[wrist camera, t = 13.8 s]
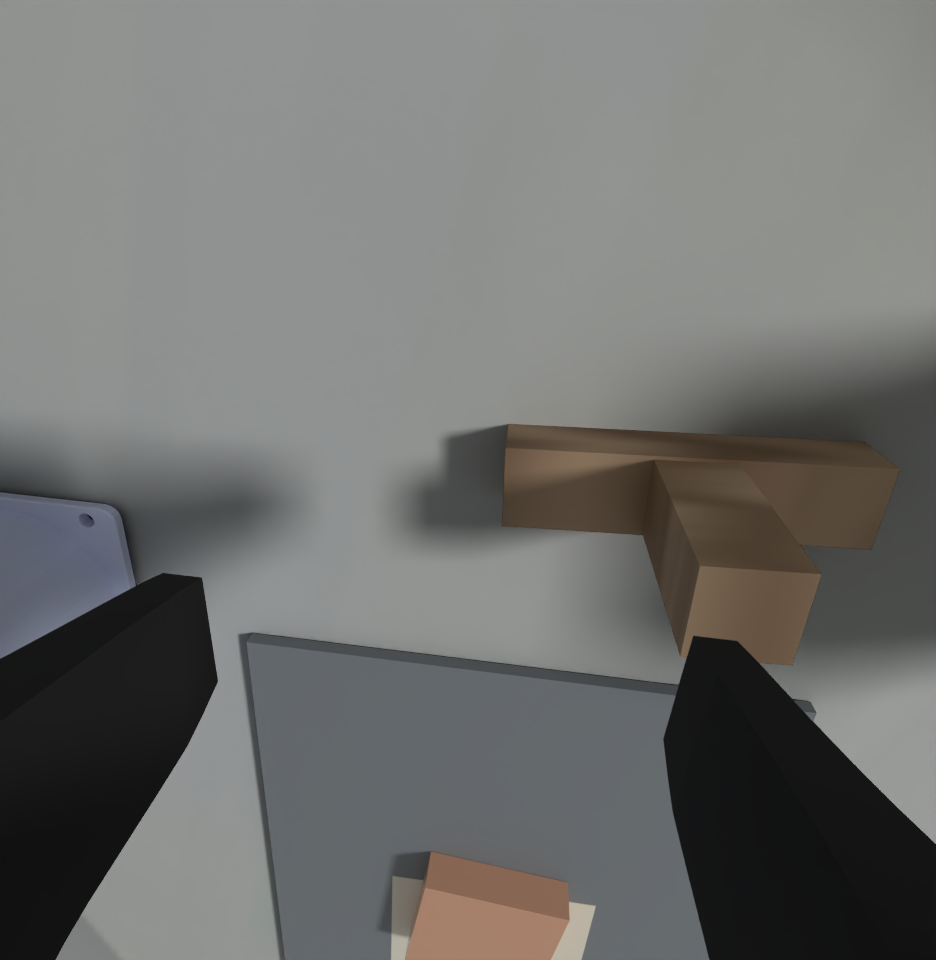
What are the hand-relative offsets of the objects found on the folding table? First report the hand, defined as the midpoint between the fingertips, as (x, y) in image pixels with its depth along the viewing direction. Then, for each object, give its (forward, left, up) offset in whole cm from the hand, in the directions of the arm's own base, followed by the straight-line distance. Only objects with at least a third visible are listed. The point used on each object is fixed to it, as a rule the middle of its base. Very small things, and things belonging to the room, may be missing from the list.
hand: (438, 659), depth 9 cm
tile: (+2, -23, -9) cm, 25 cm away
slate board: (+2, -20, -10) cm, 22 cm away
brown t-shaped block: (+6, -1, -10) cm, 12 cm away
